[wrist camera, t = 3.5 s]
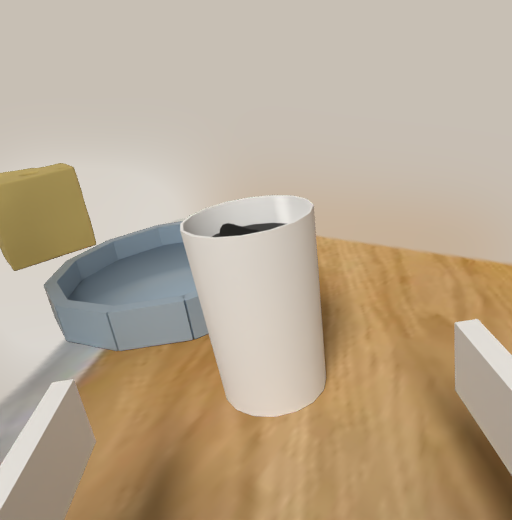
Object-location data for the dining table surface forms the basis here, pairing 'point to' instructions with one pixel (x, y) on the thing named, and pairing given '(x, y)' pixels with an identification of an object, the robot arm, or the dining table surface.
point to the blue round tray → (129, 292)
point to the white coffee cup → (260, 299)
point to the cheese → (42, 215)
